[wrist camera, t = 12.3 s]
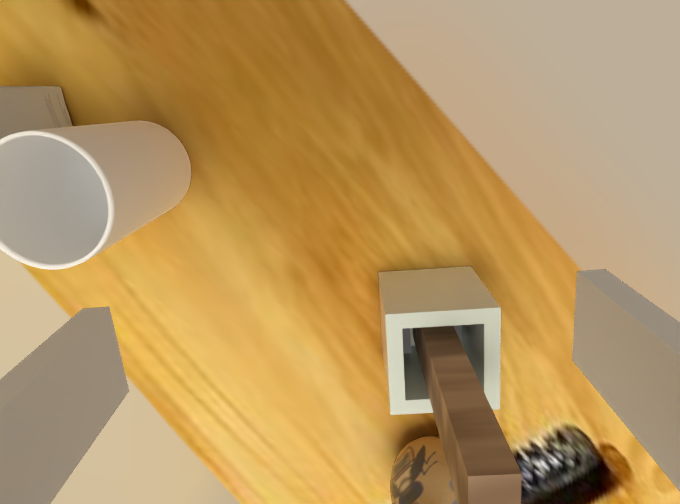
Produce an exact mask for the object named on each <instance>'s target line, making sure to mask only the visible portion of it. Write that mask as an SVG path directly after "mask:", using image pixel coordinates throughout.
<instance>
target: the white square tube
mask: <svg viewBox="0 0 680 504" xmlns="http://www.w3.org/2000/svg"><path fill="white" fill-rule="evenodd" d="M378 278H379V296H380V314H381V331H382V349H383V360H384V368H385V376H386V384H387V391H388V399H389V407H390V415H399V414H418V413H433V410H432V406H431V402H430V398H429V395H428V391H427V387H426V383H425V380H424V376H423V372H422V368H421V365H420V361H419V357H418V353H417V350H416V346H415V342H414V338H413V328H421V327H437V326H454V328H455V330H456V332H457V334H458V337H459V339H460V341H461V343H462V345H463V348H464V350H465V352H466V354H467V356H468V358H469V361H470V363H471V365H472V367H473V369H474V371H475V374H476V376H477V378H478V380H479V382H480V384H481V387H482V389H483V391H484V393H485V395H486V398H487V400H488V402H489V404H490V406H491V408H492V409H500V347H501V307H500V305H499V304H498V303H497V301H496V300H495V299H494V297H493V296H492V295H491V293H490V292H489V290H488V289H487V288H486V286H485V285H484V284H483V282H482V281H481V279H480V278H479V277H478V275H477V274H476V273H475V271H474V270H473V269H472V267H471V266H464V267H448V268H432V269H417V270H401V271H385V272H378Z"/></svg>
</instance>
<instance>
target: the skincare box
mask: <svg viewBox="0 0 680 504" xmlns="http://www.w3.org/2000/svg"><path fill="white" fill-rule="evenodd" d="M62 127H72V122H71V119H70V116H69V113H68V110H67V107H66V104H65V101H64V97H63V93H62V89H61V87H60V86H0V139H2V138H4V137H6V136H8V135H11V134H15V133H18V132H23V131H30V130H40V129H51V128H62Z"/></svg>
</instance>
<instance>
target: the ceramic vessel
mask: <svg viewBox="0 0 680 504" xmlns="http://www.w3.org/2000/svg"><path fill="white" fill-rule="evenodd" d="M390 492H391V500H392V504H458V503H457V499H456V496H455V492H454V488H453V484H452V481H451V477H450V473H449V469H448V466H447V462H446V458H445V454H444V451H443V447H442V443H441V439H440V436H425V437H421V438H418V439H415V440H413V441H412V442H410V443H409V444H407V445H406V446H405V447H404V448H403V449H402V450H401V452H400V453H399V454H398V456H397V458H396V460H395V462H394V465H393V468H392V473H391V480H390Z"/></svg>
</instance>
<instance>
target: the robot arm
mask: <svg viewBox="0 0 680 504" xmlns="http://www.w3.org/2000/svg"><path fill="white" fill-rule="evenodd" d="M572 361H573V362H574V363H575V364H576V365H577V367H578V368H579V369H580V370H581V371H582V373H583V374H584V375H585V376H586V378H587V379H588V380H589V381H590V382H591V384H592V385H593V386H594V387H595V389H596V390H597V391H598V392H599V393H600V395H601V396H602V397H603V398H604V400H605V401H606V402H607V403H608V404H609V406H610V407H611V408H612V409H613V411H614V412H615V413H616V414H617V415H618V417H619V418H620V419H621V420H622V422H623V423H624V424H625V425H626V426H627V428H628V429H629V430H630V431H631V433H632V434H633V435H634V436H635V437H636V439H637V440H638V441H639V442H640V444H641V445H642V446H643V447H644V448H645V450H646V451H647V452H648V453H649V454H650V456H651V457H652V458H653V459H654V461H655V462H656V463H657V464H658V465H659V467H660V468H661V469H662V470H663V472H664V473H665V474H666V475H667V476H668V478H669V479H670V480H671V481H672V483H673V484H674V485H675V486H676V487H677V489H678V490H679V491H680V322H678V321H677V320H676V319H674V318H673V317H671V316H670V315H669V314H667V313H666V312H664V311H663V310H662V309H660V308H659V307H657V306H656V305H655V304H653V303H652V302H650V301H649V300H648V299H646V298H645V297H643V296H642V295H641V294H639V293H638V292H636V291H635V290H634V289H632V288H631V287H629V286H628V285H627V284H625V283H624V282H623V281H621V280H620V279H618V278H617V277H616V276H614V275H613V274H611V273H610V272H609V271H607V270H606V269H601V270H588V271H577V281H576V299H575V318H574V336H573V354H572ZM128 392H129V389H128V384H127V380H126V376H125V372H124V368H123V363H122V359H121V355H120V351H119V346H118V342H117V338H116V334H115V329H114V325H113V321H112V317H111V313H110V308H109V307H98V308H85V309H82V310H81V311H79V312H78V313H77V314H76V315H75V316H74V317H72V318H71V319H70V320H69V321H68V322H67V323H65V324H64V325H63V326H62V327H61V328H60V329H58V330H57V331H56V332H55V333H54V334H53V335H51V336H50V337H49V338H48V339H47V340H46V341H45V342H43V343H42V344H41V345H40V346H39V347H38V348H36V349H35V350H34V351H33V352H32V353H31V354H29V355H28V356H27V357H26V358H25V359H24V360H22V361H21V362H20V363H19V364H18V365H17V366H15V367H14V368H13V369H12V370H11V371H10V372H8V373H7V374H6V375H5V376H4V377H3V378H2V379H1V380H0V504H50V503H51V502H52V500H53V499H54V498H55V496H56V495H57V493H58V492H59V490H60V489H61V487H62V486H63V485H64V483H65V482H66V480H67V479H68V477H69V476H70V475H71V473H72V472H73V470H74V469H75V467H76V466H77V465H78V463H79V462H80V460H81V459H82V458H83V456H84V455H85V453H86V452H87V450H88V449H89V448H90V446H91V445H92V443H93V442H94V440H95V439H96V437H97V436H98V435H99V433H100V432H101V430H102V429H103V428H104V426H105V425H106V423H107V422H108V420H109V419H110V417H111V416H112V415H113V413H114V412H115V410H116V409H117V408H118V406H119V405H120V403H121V402H122V400H123V399H124V398H125V396H126V395H127V393H128Z"/></svg>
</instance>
